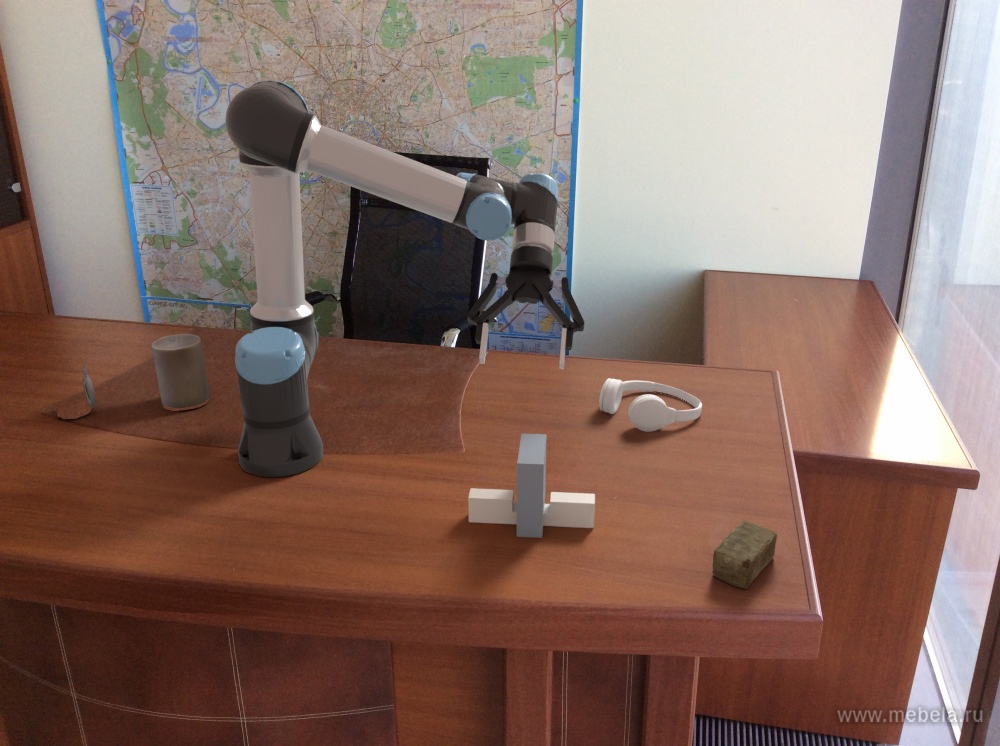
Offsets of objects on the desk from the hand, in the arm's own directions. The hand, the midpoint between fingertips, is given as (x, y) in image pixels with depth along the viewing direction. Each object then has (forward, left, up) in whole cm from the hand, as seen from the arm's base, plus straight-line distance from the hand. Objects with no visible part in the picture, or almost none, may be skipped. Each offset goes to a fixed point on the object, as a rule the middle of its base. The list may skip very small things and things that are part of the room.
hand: (521, 363), depth 147 cm
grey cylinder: (-72, +23, -21) cm, 78 cm away
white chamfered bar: (+3, -16, -20) cm, 26 cm away
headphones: (+25, +27, -21) cm, 42 cm away
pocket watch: (-91, +15, -21) cm, 95 cm away
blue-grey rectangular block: (+3, -16, -20) cm, 26 cm away
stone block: (+35, -26, -21) cm, 48 cm away
